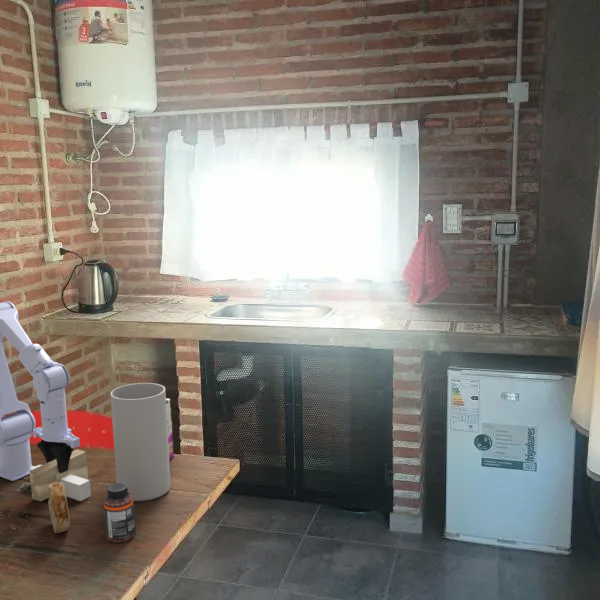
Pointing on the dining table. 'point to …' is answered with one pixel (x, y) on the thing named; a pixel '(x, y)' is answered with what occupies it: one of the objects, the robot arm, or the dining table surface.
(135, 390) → the cylinder vase
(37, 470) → the light wood plank
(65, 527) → the toasted sandwich
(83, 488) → the white building blocks
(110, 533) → the supplement bottle
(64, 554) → the dining table surface
